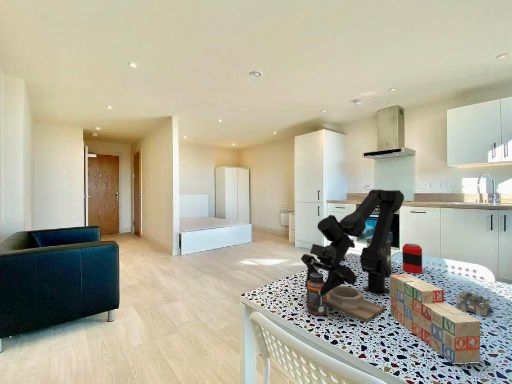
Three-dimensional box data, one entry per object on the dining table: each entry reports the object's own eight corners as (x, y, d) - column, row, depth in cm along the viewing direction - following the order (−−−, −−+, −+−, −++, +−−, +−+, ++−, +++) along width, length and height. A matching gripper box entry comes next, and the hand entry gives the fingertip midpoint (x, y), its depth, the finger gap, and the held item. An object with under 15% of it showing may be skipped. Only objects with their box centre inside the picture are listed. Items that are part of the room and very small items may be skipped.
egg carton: (485, 319, 70) (485, 305, 70) (453, 309, 76) (452, 296, 76) (493, 308, 76) (493, 295, 76) (462, 299, 82) (462, 287, 82)
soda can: (399, 268, 115) (399, 243, 115) (416, 268, 114) (416, 243, 114) (407, 273, 108) (407, 246, 108) (425, 274, 107) (425, 247, 106)
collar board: (329, 290, 90) (329, 279, 90) (384, 310, 75) (384, 297, 75) (310, 298, 84) (310, 286, 84) (366, 322, 68) (366, 308, 68)
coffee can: (384, 266, 117) (383, 237, 117) (396, 274, 107) (395, 242, 107) (362, 267, 117) (362, 238, 117) (372, 274, 107) (372, 242, 107)
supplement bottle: (327, 317, 71) (327, 278, 71) (306, 315, 72) (306, 277, 72) (325, 307, 77) (325, 272, 77) (306, 305, 78) (306, 271, 78)
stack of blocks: (481, 364, 52) (481, 307, 51) (454, 366, 51) (454, 308, 51) (409, 313, 73) (409, 273, 73) (389, 315, 72) (389, 274, 72)
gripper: (304, 230, 85) (279, 267, 79) (349, 239, 69) (323, 286, 63) (320, 250, 89) (298, 286, 83) (366, 262, 73) (343, 308, 67)
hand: (313, 290), depth 74 cm, fingers closed on supplement bottle, 6 cm apart
